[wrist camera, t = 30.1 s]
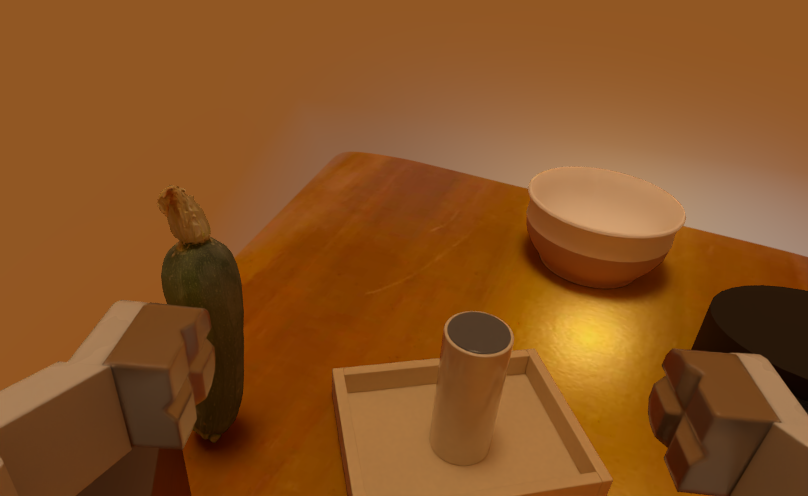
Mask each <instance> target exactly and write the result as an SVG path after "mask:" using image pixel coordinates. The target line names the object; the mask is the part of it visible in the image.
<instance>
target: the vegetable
mask: <svg viewBox="0 0 808 496" xmlns="http://www.w3.org/2000/svg"><path fill="white" fill-rule="evenodd" d="M185 191H186V190H185V189H183V188H179V187H178V186H177V187H176V186H172V185H170V186H168V187H167V188H166V189H164V190H163V191H161V193H160V195H159V198H158V204H157V205H158V206H159V209H160V211H161V212H162V213H164V214H165V216H166V217H167V218H168V222H169V225H170V230H171V232H172V234H173V235H174V236H175V237H176V238H178V239H179V240H180V241H179V242H178V243H176V245H174V246H173V247H172V248H171V249H170V250H169V251H168V253H167V254H166V256H165V258H164V262H163V266H162V273H161V278H162V287H163V292H164V296H165V298H166V302H167V304H168V305H177V306H187V307H196V308H205V309H206V310H207V311H208V312H209V315H210V320H211V326H212V327H211V329H210V331H209V333H208V335H207V337H206V338H207V339H208V340H209V341H210V343H211V344H212V345H213V346H214V349H215V372H214V376H213V381H212V385H211V388H210V390H209V393H208V395H207V397H206V399H205V400H203V401H202V402H200V403H199V404H197V405H196V406H195V408H196V415H197V420H196V422H195V424H194V426H193V430H194V431H195V432H196V433H197V434H200V435H201V437H202V438H203V439H209V440H210V441H211V442H213V443H215V442H216V441H217V440H218V439H219V438H220V437H221V434H222V433H224V432H225V431H226V430H228V428H229V427H230V426H231V424H232V423H233V422H234V421H235V419H236V416H237V414H238V411H239V407H240V404H241V400H242V395H243V381H244V335H243V317H244V310H243V298H242V286H241V279H240V274H239V271H238V267H237V263H236V261H235V259H234V257H233V255H232V253H231V251H230V250H229V249H228V248H227V247H226V246H225V245H224V244H222V243H220V242H219V241H217V240H215V239H213V238H211V237H210V226H209V223H208V220H207V218H206V216H205V214H204V212H203V210H202V209H201V208H200V206H199V204H198V203H196V202H195V200H194V196H191V195H190V196H188V195H186V194H185V193H184V192H185Z"/></svg>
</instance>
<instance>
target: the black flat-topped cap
mask: <svg viewBox="0 0 808 496" xmlns="http://www.w3.org/2000/svg"><path fill="white" fill-rule="evenodd" d="M691 350H696V351H709V352H721V353H746V354H760V355H762V356H763V357H765V358H766V359H768V361H769V362H770V363H771V365H772V366H773V367H774V369H775V370H776V372H777V373H778V374H779V376H780V377H781V378H782V380H783V381H784V383H785V384H786V385H787V387H788V388H789V390H790V391H791V392H792V394H793V395H794V396H795V398H796V399H797V401H798V402H799V403H800V405H801V406H802V408H803V409H804V410H805V412H806V413H807V414H808V291H805V290H799V289H793V288H786V287H777V286H764V285H760V286H741V287H734V288H730V289H727V290H725V291H722V292H720V293H719V294H717V295H716V296H715V297H714V298H713V300H712V302H711V304H710V306H709V308H708V311H707V313H706V316H705V318H704V320H703V323H702V325H701V328H700V330H699V332H698V335H697V337H696V340H695V342H694V344H693V347H692V349H691Z"/></svg>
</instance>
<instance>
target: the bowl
mask: <svg viewBox="0 0 808 496" xmlns="http://www.w3.org/2000/svg"><path fill="white" fill-rule="evenodd" d="M528 190H529V195H530V202H529V206H528V209H527V230H528V233H529V236H530V238H531V241H532V243H533V245H534V247H535V248H536V249H537V251H538V252H539V255H540V258H541V260H542V262H543V263H544V265H545V266H546V267H547V268H548V269H549V270H551V271H552V272H553V273H555V274H556V275H558V276H560V277H561V278H564V279H566V280H568V281H570V282H573V283H576V284H579V285H583V286H587V287H593V288H606V289H611V288H619V287H622V286H626V285H628V284H630V283H631V282H633V281H634V279H635V278H638V277H640V276H643V275H645V274H646V273H648V272H650V271H651V270H653V269H654V268H655V267H656V266H658V265H659V264H660V263H661V262H662V261H663V260H664V259H665V257H666V255H667V253H668V252H669V250H670V249H671V247H672V244H673V240H674V236H675V234H676V232H677V231H678V230H679V229H680V228H681V227H682V226H683V225H684V223H685V220H686V216H685V211H684V209H683V207H682V206H681V204H680V203H679V202H678V201H677V200H676V199H675V198H674V197H673V196H672V195H670V194H669V193H667V192H666V191H665V190H663V189H661V188H659V187H657V186H655V185H654V184H652V183H649V182H647V181H644V180H642V179H639V178H636V177H633V176H630V175H627V174H623V173H619V172H615V171H611V170H606V169H600V168H590V167H560V168H554V169H549V170H546V171H543V172H541V173H539V174H537V175H536V176H535V177H534V178H533V179H532V180H531V181H530V183H529V186H528Z"/></svg>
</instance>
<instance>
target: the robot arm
mask: <svg viewBox="0 0 808 496" xmlns="http://www.w3.org/2000/svg"><path fill="white" fill-rule="evenodd" d="M211 327H212V326H211V320H210V315H209V312H208V311H207V310H206V309H205V308H196V307H187V306H177V305H168V304H159V303H145V302H135V301H126V300H120V301H118V302H116V303H114V304H113V305H112V306H111V307H110V309H109V310H108V311H107V313H106V314H105V315H104V316H103V318H102V319H101V320H100V321H99V323H98V324H97V325H96V327H95V328H94V329H93V331H92V332H91V333H90V334H89V336H88V337H87V338H86V339H85V341H84V342H83V343H82V344H81V346H80V347H79V348H78V350H77V351H76V352H75V353H74V355H73V356H72V357H71V359H70V360H69V361H68V362H57V363H55V364H53V365H51V366H49V367H47V368H45V369H43V370H41V371H39V372H37V373H35V374H33V375H31V376H29V377H27V378H25V379H23V380H21V381H19V382H17V383H15V384H13V385H11V386H9V387H7V388H5V389H3V390H1V391H0V496H76V495H77V494H78V493H80V492H81V491H82V490H83V489H84V488H86V487H87V486H88V485H89V484H91V483H92V482H93V481H94V480H95V479H97V478H98V477H99V476H100V475H101V474H103V473H104V472H105V471H106V470H108V469H109V468H110V467H111V466H112V465H114V464H115V463H116V462H117V461H119V460H120V459H121V458H122V457H123V456H125V455H126V454H127V453H128V452H130V451H131V450H132V448H131V447H145V448H162V449H180V450H183V448H184V446H185V444H186V442H187V440H188V437H189V435H190V433H191V431H192V429H193V426H194V424H195V422H196V420H197V415H196V408H195V406H196V405H197V404H199V403H200V402H202V401H203V400H205V399H206V397H207V395H208V393H209V390H210V388H211V385H212V381H213V376H214V372H215V349H214V346H213V345H212V344H211V343H210V341H209V340H208V339H207V338H206V337H207V335H208V333H209V331H210V329H211ZM662 367H663V369H664V371H665V373H666V376H665V377H663V378H662V379H660V380H659V381H657V382H656V383H655V384H654V385H653V388H652V391H651V394H650V396H649V406H648V415H649V421H650V425H651V428H652V431H653V433H654V436H655V437H656V438H657V439H658V440H659V441H660V442H662V443H663V444H664V445H665V446H666V447H667V448H668V450H667V452H666V454H665V456H664V460H665V463H666V465H667V468H668V470H669V472H670V475H671V477H672V480H673V482H674V484H675V487H676V489H677V492H686V493H695V494H704V495H712V496H808V414H807V413H806V412H805V410H804V409H803V408H802V406H801V405H800V403H799V402H798V401H797V399H796V398H795V396H794V395H793V394H792V392H791V391H790V390H789V388H788V387H787V385H786V384H785V383H784V381H783V380H782V378H781V377H780V376H779V374H778V373H777V372H776V370H775V369H774V367H773V366H772V365H771V363H770V362H769V361H768V359H766V358H765V357H763V356H762V355H760V354H746V353H721V352H709V351H696V350H684V349H672V350H671V351H670V352H669V353H668V354H667V355H666V357H665V359H664V361H663V364H662Z"/></svg>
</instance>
